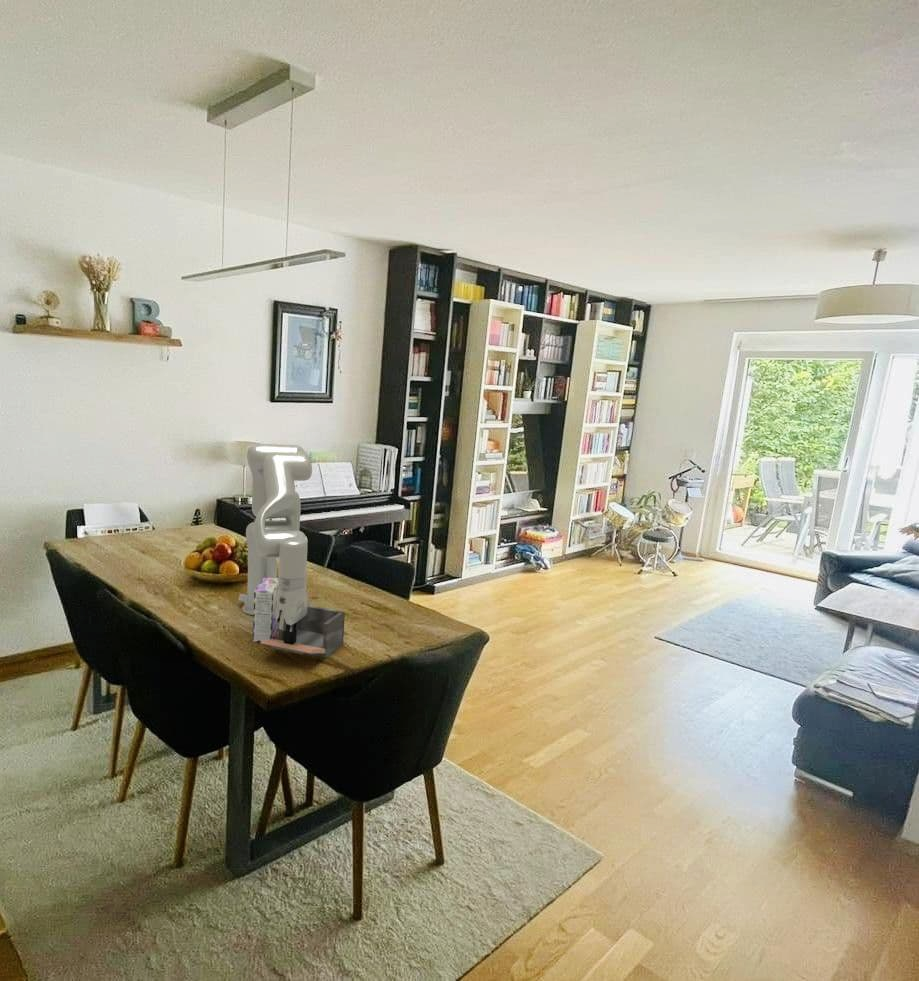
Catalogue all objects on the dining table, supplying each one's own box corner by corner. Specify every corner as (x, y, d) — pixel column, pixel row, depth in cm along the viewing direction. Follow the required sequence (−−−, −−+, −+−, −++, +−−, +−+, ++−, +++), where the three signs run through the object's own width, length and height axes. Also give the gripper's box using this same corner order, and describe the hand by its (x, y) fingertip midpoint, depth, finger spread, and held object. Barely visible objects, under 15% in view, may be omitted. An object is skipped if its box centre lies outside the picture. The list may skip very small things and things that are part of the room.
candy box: (262, 624, 201) (263, 576, 198) (280, 625, 202) (282, 577, 199) (252, 642, 188) (253, 590, 185) (271, 642, 188) (273, 591, 186)
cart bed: (277, 648, 185) (278, 615, 183) (297, 634, 195) (298, 603, 194) (326, 658, 181) (327, 624, 179) (343, 643, 191) (344, 611, 190)
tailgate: (275, 645, 183) (259, 645, 175) (277, 639, 183) (261, 639, 175) (324, 655, 179) (310, 656, 171) (325, 649, 179) (312, 649, 171)
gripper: (290, 591, 164) (287, 656, 167) (317, 576, 178) (314, 635, 182) (265, 587, 166) (263, 650, 169) (293, 572, 180) (291, 630, 183)
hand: (289, 642), depth 175 cm, fingers closed
